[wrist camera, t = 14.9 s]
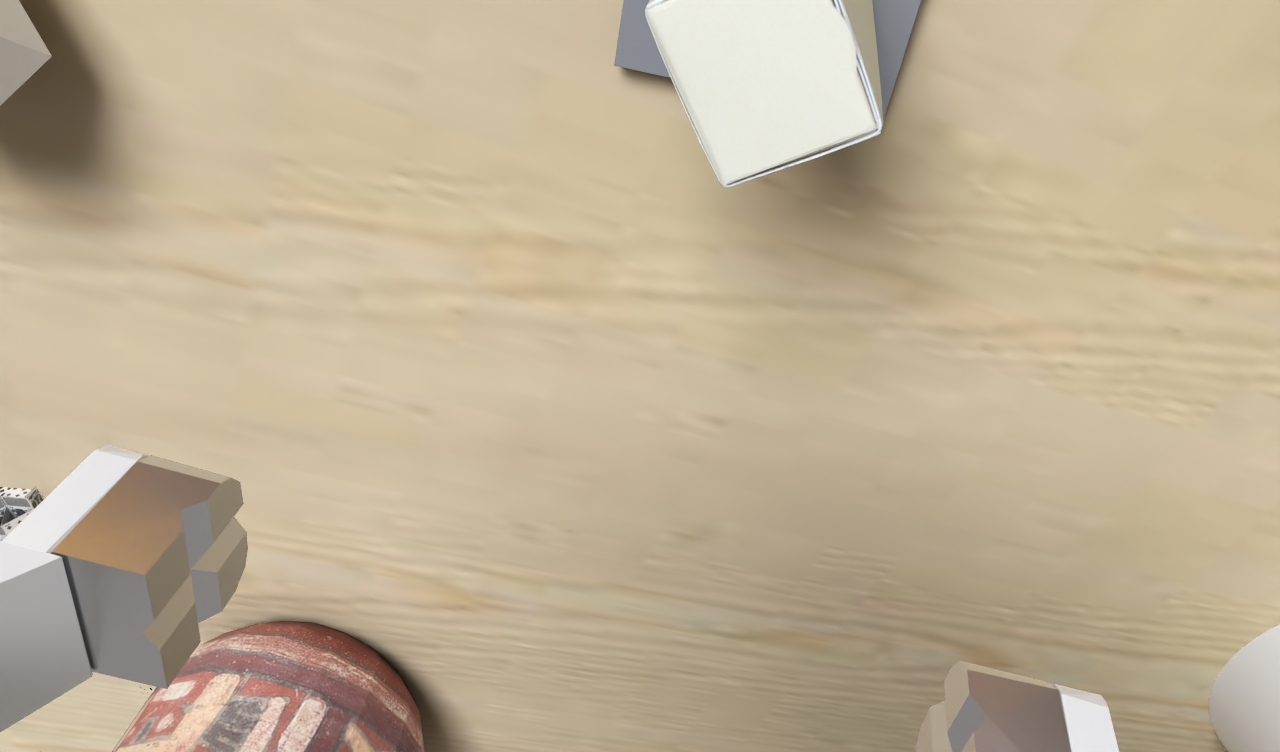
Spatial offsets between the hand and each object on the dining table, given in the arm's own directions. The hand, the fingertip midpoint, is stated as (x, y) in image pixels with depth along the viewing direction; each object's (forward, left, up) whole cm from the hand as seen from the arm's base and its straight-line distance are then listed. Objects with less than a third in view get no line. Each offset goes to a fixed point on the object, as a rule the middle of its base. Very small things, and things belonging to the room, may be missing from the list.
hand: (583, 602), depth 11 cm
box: (0, -1, -29) cm, 29 cm away
